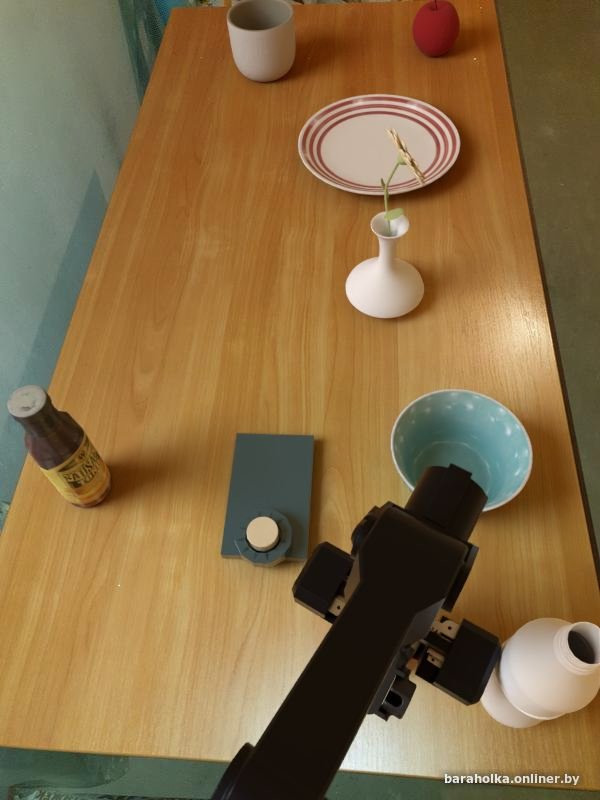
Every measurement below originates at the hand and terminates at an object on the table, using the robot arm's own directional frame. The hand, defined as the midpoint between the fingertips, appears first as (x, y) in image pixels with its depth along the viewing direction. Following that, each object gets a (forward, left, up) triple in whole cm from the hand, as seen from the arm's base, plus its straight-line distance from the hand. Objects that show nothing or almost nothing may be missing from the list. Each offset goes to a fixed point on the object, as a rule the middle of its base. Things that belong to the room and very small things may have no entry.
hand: (387, 637), depth 65 cm
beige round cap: (+11, +14, -1) cm, 18 cm away
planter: (+107, +23, -4) cm, 110 cm away
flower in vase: (+50, 0, -4) cm, 50 cm away
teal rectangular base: (+17, +14, -4) cm, 22 cm away
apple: (+113, -10, -4) cm, 114 cm away
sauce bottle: (+17, +37, -4) cm, 41 cm away
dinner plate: (+81, +1, -4) cm, 81 cm away
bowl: (+20, -8, -4) cm, 22 cm away
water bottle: (-4, -13, -4) cm, 14 cm away
